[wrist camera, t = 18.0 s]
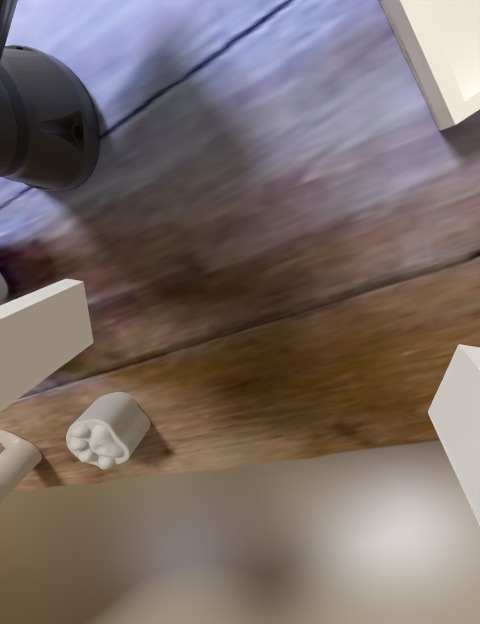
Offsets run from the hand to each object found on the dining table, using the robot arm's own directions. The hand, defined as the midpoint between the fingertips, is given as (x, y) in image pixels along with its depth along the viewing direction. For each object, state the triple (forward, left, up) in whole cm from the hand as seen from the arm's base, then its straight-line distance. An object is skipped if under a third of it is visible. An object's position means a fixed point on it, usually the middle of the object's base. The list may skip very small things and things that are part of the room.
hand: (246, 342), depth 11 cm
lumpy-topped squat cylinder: (+12, -48, -29) cm, 57 cm away
